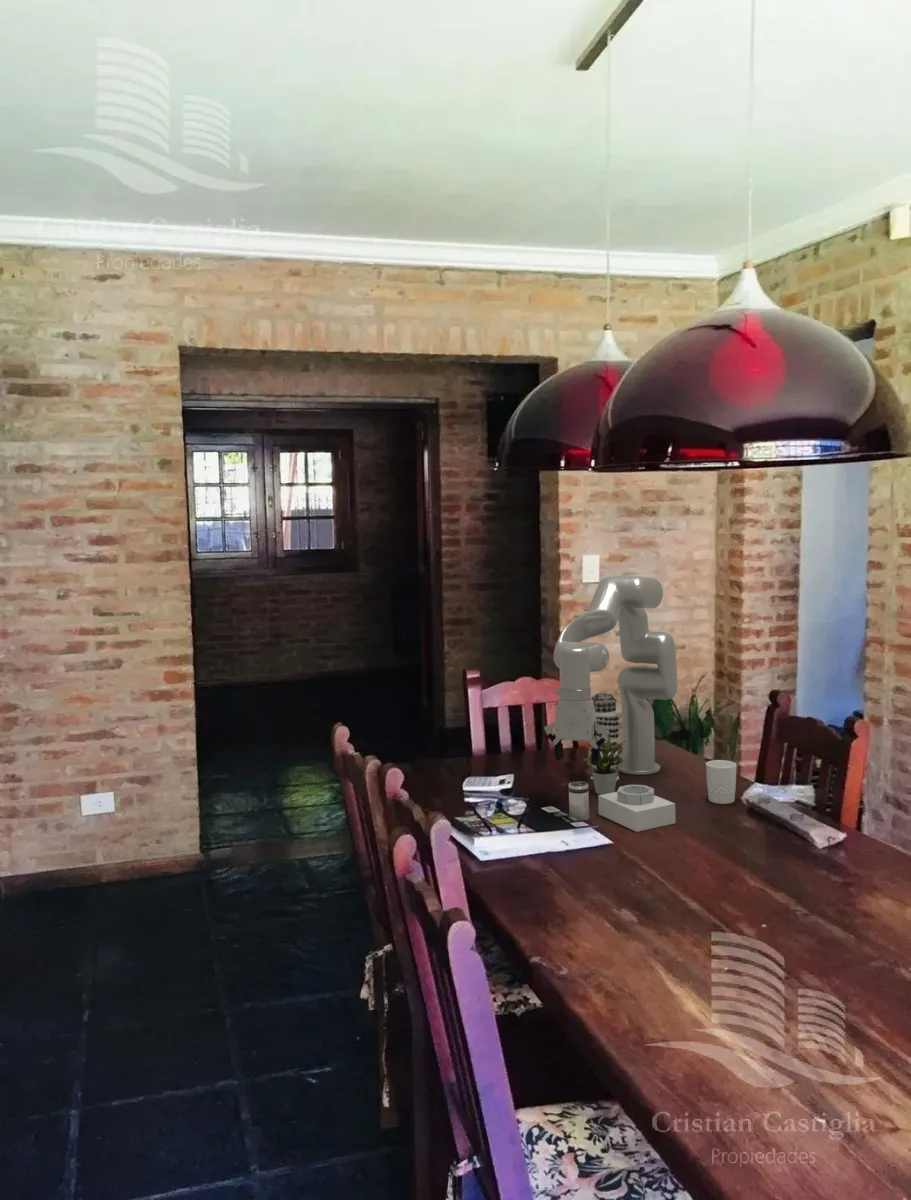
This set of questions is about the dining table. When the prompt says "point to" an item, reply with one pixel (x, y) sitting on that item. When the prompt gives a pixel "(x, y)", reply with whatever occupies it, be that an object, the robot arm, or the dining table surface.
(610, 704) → the decorative candle
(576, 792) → the lens
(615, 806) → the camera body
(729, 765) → the white cup
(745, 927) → the dining table surface
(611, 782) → the house plant
